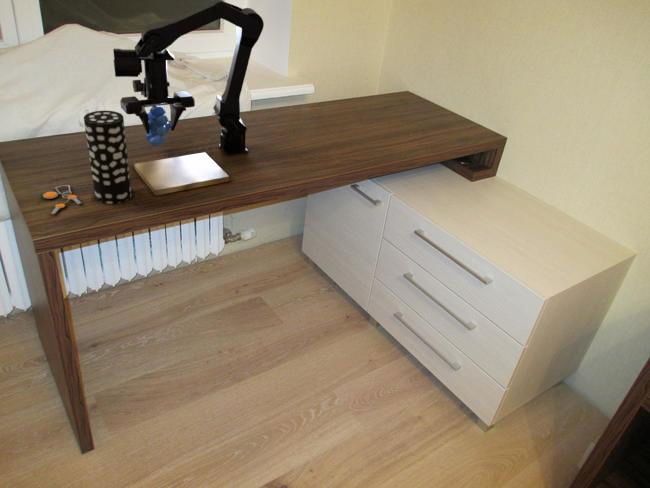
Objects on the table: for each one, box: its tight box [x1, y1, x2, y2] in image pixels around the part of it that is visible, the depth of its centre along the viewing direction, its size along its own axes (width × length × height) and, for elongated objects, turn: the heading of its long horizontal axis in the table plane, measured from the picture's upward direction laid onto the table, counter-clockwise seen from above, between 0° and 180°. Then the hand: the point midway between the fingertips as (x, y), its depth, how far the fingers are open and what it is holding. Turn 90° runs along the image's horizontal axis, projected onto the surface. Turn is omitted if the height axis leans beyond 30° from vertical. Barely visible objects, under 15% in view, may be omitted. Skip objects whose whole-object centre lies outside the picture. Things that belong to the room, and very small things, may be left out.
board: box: [133, 152, 230, 196], centre depth 145 cm, size 20×16×2 cm
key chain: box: [42, 184, 82, 215], centre depth 128 cm, size 13×7×1 cm, turn 31°
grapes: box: [145, 105, 171, 148], centre depth 151 cm, size 12×7×12 cm, turn 35°
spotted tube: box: [83, 110, 132, 205], centre depth 127 cm, size 8×8×20 cm
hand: (160, 132), depth 152 cm, fingers closed on grapes, 6 cm apart
